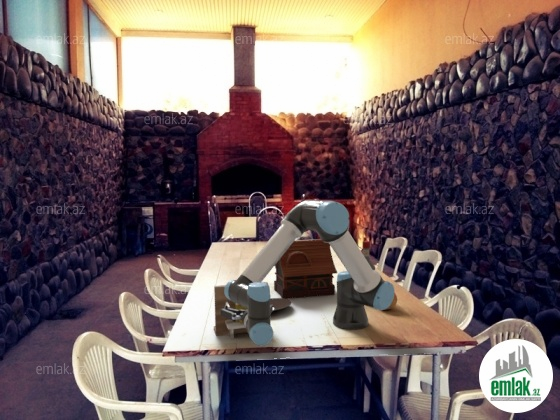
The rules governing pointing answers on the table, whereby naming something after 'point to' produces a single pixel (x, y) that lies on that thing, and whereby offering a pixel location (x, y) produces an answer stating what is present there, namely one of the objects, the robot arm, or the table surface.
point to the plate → (280, 303)
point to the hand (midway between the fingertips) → (243, 304)
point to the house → (305, 270)
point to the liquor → (367, 253)
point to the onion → (393, 302)
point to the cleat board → (223, 323)
